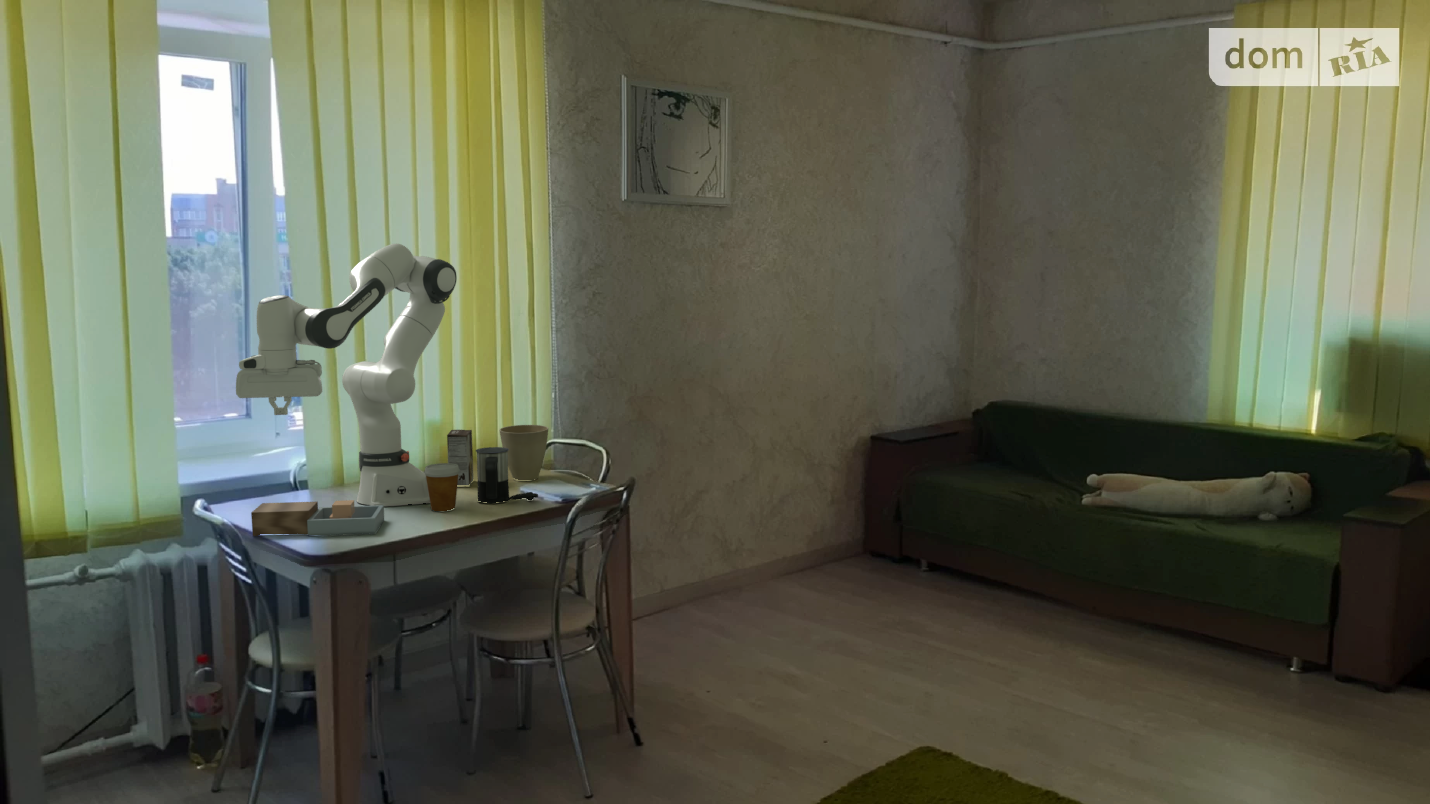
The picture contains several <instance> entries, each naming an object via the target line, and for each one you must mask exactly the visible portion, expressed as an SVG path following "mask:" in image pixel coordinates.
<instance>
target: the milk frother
mask: <svg viewBox="0 0 1430 804" xmlns="http://www.w3.org/2000/svg"><path fill="white" fill-rule="evenodd" d="M508 450H509V449H508V448H503V447H502V446H493V447H491V446H489V447H481V448H477V449H476V450H475V452H476V466H477V467H476V468H477V469H476V473H477V474H476V475H477V476H476V477H477V499H478V501H481V502H487V503H496V502H503V501H508V500H510V501H511V500H513V501H514V500H516V499H520V500H523V499H522V498H526V499H525V500H527V499H528V500H532V499H534V497H535V498H538V497H539V494H538V493H533V492H532V491H527V492H525V493H524V492H523V493H517V494H514V495H511V496H510V489H509V486H510V485H509V467H508ZM508 502H509V501H508Z"/></svg>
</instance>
